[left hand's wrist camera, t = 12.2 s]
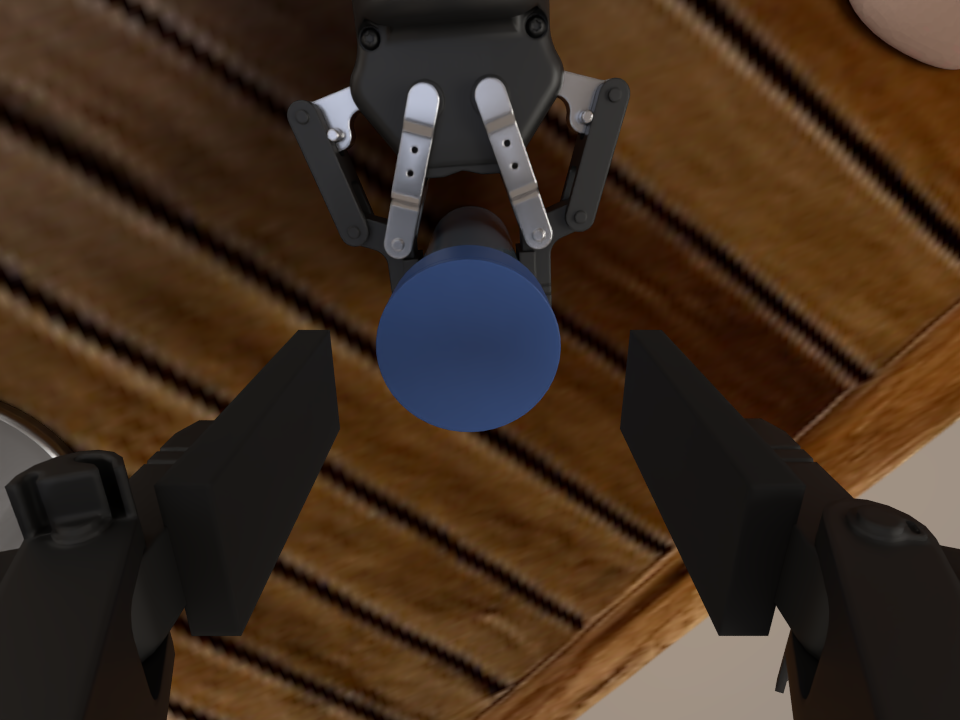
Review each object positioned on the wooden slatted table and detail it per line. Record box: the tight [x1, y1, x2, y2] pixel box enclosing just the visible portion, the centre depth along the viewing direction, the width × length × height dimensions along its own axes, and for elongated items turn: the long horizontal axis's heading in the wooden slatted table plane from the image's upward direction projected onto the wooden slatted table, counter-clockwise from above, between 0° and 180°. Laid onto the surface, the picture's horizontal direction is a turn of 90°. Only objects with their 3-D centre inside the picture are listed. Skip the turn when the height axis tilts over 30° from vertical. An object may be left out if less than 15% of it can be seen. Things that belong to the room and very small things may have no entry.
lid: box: [376, 245, 561, 432], centre depth 17 cm, size 5×5×2 cm
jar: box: [423, 206, 518, 260], centre depth 24 cm, size 4×4×16 cm
